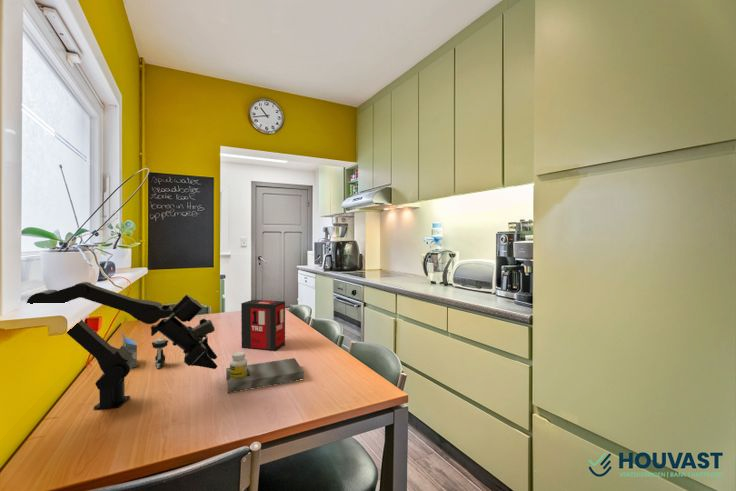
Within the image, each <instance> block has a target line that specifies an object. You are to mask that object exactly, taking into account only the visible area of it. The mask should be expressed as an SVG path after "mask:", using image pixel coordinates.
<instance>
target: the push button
mask: <svg viewBox="0 0 736 491" xmlns="http://www.w3.org/2000/svg"><path fill="white" fill-rule="evenodd" d="M168 343H169V339H168V340H167V339H166V338H163V337H162V338H156V339H154V341H152V342H151V345H152V348H153V349H155V350H157V351H156V352H157V353H156V356H155V363H154V365H155V368H156V369H160V368H162V367H164V366H166V355H165V354H164V348H166V347H167V346H168ZM163 365H164V366H163Z"/></svg>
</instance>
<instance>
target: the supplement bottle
mask: <svg viewBox="0 0 736 491" xmlns="http://www.w3.org/2000/svg"><path fill="white" fill-rule="evenodd" d="M247 365H248V360H247V358H246V352H243V351H237V352H236V351H235V352H234V353H232V355H231V361H230V363H229V368H230V379H234V378H240V377H247Z"/></svg>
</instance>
